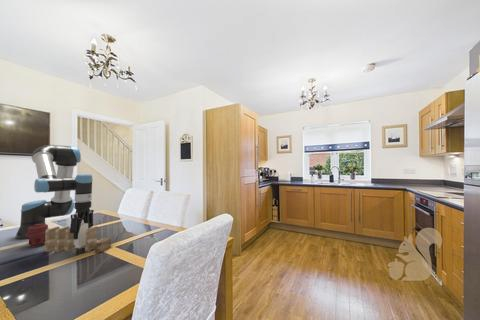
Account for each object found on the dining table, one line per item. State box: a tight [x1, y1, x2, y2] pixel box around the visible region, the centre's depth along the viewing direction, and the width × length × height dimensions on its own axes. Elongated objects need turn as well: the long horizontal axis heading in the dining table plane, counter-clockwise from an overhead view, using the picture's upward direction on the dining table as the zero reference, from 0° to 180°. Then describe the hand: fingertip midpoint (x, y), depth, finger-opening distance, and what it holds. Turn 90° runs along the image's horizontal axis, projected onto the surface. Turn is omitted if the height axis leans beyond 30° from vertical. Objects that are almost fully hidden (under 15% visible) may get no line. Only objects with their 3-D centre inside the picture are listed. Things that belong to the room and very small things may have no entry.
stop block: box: [93, 237, 112, 253], centre depth 108 cm, size 4×8×5 cm, turn 1°
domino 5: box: [84, 225, 99, 252], centre depth 108 cm, size 2×6×12 cm, turn 1°
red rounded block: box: [25, 223, 49, 249], centre depth 114 cm, size 12×10×10 cm
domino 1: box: [44, 226, 60, 253], centre depth 108 cm, size 2×6×12 cm, turn 1°
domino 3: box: [64, 227, 76, 253], centre depth 108 cm, size 2×6×12 cm, turn 1°
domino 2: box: [54, 226, 70, 253], centre depth 108 cm, size 2×6×12 cm, turn 1°
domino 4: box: [75, 222, 88, 249], centre depth 108 cm, size 2×6×12 cm, turn 1°
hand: (81, 242), depth 108 cm, fingers closed on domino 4, 6 cm apart
